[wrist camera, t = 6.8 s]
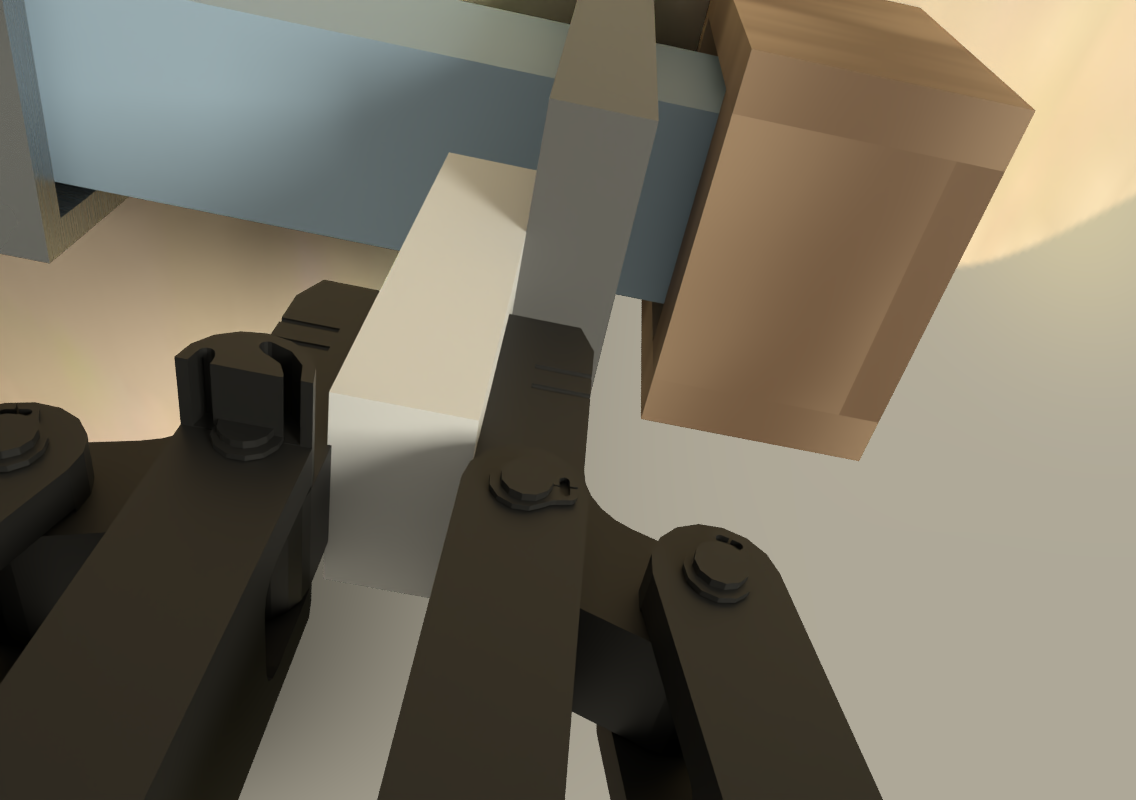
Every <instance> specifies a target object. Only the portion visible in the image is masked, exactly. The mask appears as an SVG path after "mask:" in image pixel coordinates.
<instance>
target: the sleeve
mask: <svg viewBox="0 0 1136 800" xmlns="http://www.w3.org/2000/svg"><path fill="white" fill-rule="evenodd" d="M128 197H129V196H124V195H119V194H114V193H109V192H104V191H99V190H94V189H89V188H84V187H79V186H74V185H69V184H64V183H59V182H55V181H54V175H53V169H52V163H51V157H50V151H49V145H48V139H47V133H46V127H45V121H44V115H43V109H42V104H41V98H40V92H39V86H38V80H37V74H36V68H35V62H34V56H33V50H32V44H31V38H30V32H29V26H28V20H27V14H26V8H25V2H24V0H0V254H5V255H10V256H15V257H20V258H25V259H30V260H35V261H40V262H45V263H51V262H52V261H53V260H54V259H56V258H57V257H58V256H59V255H60V254H62V253H63V252H64V251H65V250H66V249H67V248H69V247H70V246H71V245H72V244H73V243H75V242H76V241H77V240H78V239H79V238H81V237H82V236H83V235H84V234H85V233H86V232H88V231H89V230H90V229H91V228H92V227H94V226H95V225H96V224H97V223H98V222H100V221H101V220H102V219H103V218H104V217H105V216H107V215H108V214H109V213H110V212H111V211H113V210H114V209H115V208H116V207H117V206H118V205H120V204H121V203H122V202H123V201H124V200H126V199H127V198H128Z"/></svg>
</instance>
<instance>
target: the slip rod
mask: <svg viewBox="0 0 1136 800" xmlns="http://www.w3.org/2000/svg"><path fill="white" fill-rule="evenodd" d="M24 2H25V8H26V14H27V20H28V26H29V32H30V38H31V44H32V50H33V56H34V62H35V68H36V74H37V80H38V86H39V92H40V98H41V104H42V109H43V115H44V121H45V127H46V133H47V139H48V145H49V151H50V157H51V163H52V169H53V175H54V181H55V182H59V183H64V184H69V185H74V186H79V187H84V188H89V189H94V190H99V191H104V192H109V193H114V194H119V195H124V196H129V197H134V198H139V199H144V200H149V201H154V202H159V203H164V204H169V205H174V206H179V207H184V208H189V209H194V210H199V211H204V212H208V213H213V214H218V215H223V216H228V217H233V218H238V219H243V220H248V221H253V222H258V223H263V224H268V225H273V226H278V227H283V228H288V229H293V230H298V231H303V232H308V233H313V234H318V235H323V236H328V237H333V238H338V239H343V240H348V241H353V242H358V243H363V244H368V245H373V246H378V247H383V248H388V249H393V250H398V251H400V249H401V247H402V245H403V243H404V241H405V239H406V237H407V235H408V233H409V231H410V229H411V227H412V225H413V223H414V221H415V219H416V217H417V215H418V213H419V211H420V209H421V207H422V205H423V203H424V201H425V199H426V197H427V195H428V193H429V191H430V189H431V187H432V185H433V183H434V181H435V179H436V177H437V175H438V173H439V171H440V169H441V167H442V165H443V163H444V161H445V159H446V157H447V155H448V153H449V152H450V153H455V154H459V155H464V156H469V157H474V158H479V159H484V160H488V161H493V162H498V163H503V164H508V165H513V166H517V167H522V168H527V169H532V170H537V172H536V178H535V183H534V189H533V195H532V201H531V207H530V212H529V218H528V224H527V230H526V237H525V243H524V248H523V254H522V260H521V266H520V271H519V277H518V283H517V289H516V294H515V300H514V306H513V312H512V314H513V315H518V316H523V317H528V318H533V319H538V320H543V321H548V322H553V323H558V324H563V325H568V326H574V327H579V328H581V329H582V331H583V332H584V334H585V336H586V338H587V340H588V341H589V343H590V345H591V347H592V349H593V350H594V359H593V371H592V378H591V380H592V383H591V389H592V386H593V382H594V378H595V374H596V369H597V366H598V362H599V358H600V354H601V350H602V346H603V342H604V338H605V333H606V330H607V326H608V322H609V318H610V313H611V310H612V306H613V302H614V298H615V294H617V295H622V296H628V297H632V298H637V299H642V300H647V301H652V302H657V303H662V304H664V302H665V298H666V295H667V292H668V288H669V285H670V281H671V278H672V274H673V271H674V267H675V264H676V261H677V257H678V254H679V250H680V247H681V243H682V240H683V236H684V233H685V230H686V226H687V223H688V219H689V216H690V212H691V209H692V205H693V202H694V199H695V195H696V192H697V188H698V185H699V181H700V178H701V174H702V171H703V167H704V164H705V161H706V157H707V154H708V150H709V147H710V143H711V140H712V136H713V133H714V130H715V126H716V123H717V119H718V116H719V112H720V109H721V105H722V102H723V99H724V95H725V92H726V86H725V82H724V78H723V74H722V70H721V66H720V62H719V58H718V56H714V55H710V54H705V53H700V52H696V51H691V50H687V49H682V48H677V47H673V46H668V45H663V44H659V43H656V37H655V12H654V0H577V2H576V6H575V9H574V13H573V16H572V20H571V23H570V24H566V23H562V22H557V21H552V20H548V19H543V18H539V17H534V16H529V15H525V14H520V13H515V12H511V11H506V10H502V9H497V8H492V7H488V6H483V5H478V4H474V3H469V2H465V1H460V0H24Z"/></svg>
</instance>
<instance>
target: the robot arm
mask: <svg viewBox="0 0 1136 800" xmlns="http://www.w3.org/2000/svg"><path fill="white" fill-rule="evenodd" d="M536 172H537V170H532V169H527V168H522V167H517V166H513V165H508V164H503V163H498V162H493V161H488V160H484V159H479V158H474V157H469V156H464V155H459V154H455V153H450V152H449V153H448V155H447V157H446V159H445V161H444V163H443V165H442V167H441V169H440V171H439V173H438V175H437V177H436V179H435V181H434V183H433V185H432V187H431V189H430V191H429V193H428V195H427V197H426V199H425V201H424V203H423V205H422V207H421V209H420V211H419V213H418V215H417V217H416V219H415V221H414V223H413V225H412V227H411V229H410V231H409V233H408V235H407V237H406V239H405V241H404V243H403V245H402V247H401V249H400V251H399V253H398V255H397V257H396V259H395V261H394V263H393V265H392V267H391V269H390V271H389V273H388V275H387V277H386V279H385V281H384V283H383V285H382V287H381V289H380V291H378V290H373V289H368V288H363V287H358V286H353V285H348V284H343V283H338V282H333V281H328V280H323V281H321V282H319V283H317V284H316V285H314V286H312V287H310V288H309V289H307V290H305V291H303V292H302V293H300V294H298V295H296V297H295V298H294V300H293V301H292V303H291V304H290V306H289V307H288V309H287V311H286V312H285V314H284V315H283V317H282V321H281V322H279V323H278V324H277V326H276V327H275V329H274V330H273V332H272V334H266V333H253V332H233V333H225V334H217V335H213V336H210V337H207V338H205V339H202V340H199V341H197V342H194V343H191V344H190V345H189V346H187V347H186V348H185V349H184V350H182V351H181V352H180V353H179V354H177V355H176V356H175V367H176V377H177V388H178V399H179V409H180V420H181V425H180V426H179V428H178V429H177V430H176V432H175V433H174V435H173V436H170V437H166V438H162V439H152V440H142V441H117V442H88V437H87V433H86V431H85V429H84V427H83V426H82V424H81V422H80V420H79V419H78V418H76V417H75V416H73V415H72V414H70V413H68V412H67V411H65V410H63V409H62V408H59V407H54V406H49V405H45V404H40V403H35V402H32V403H3V404H0V800H238V799H239V796H240V793H241V791H242V788H243V786H244V783H245V780H246V778H247V775H248V773H249V770H250V768H251V765H252V762H253V760H254V757H255V755H256V752H257V750H258V747H259V745H260V742H261V739H262V737H263V734H264V732H265V729H266V727H267V724H268V721H269V719H270V716H271V713H272V711H273V709H274V706H275V703H276V701H277V698H278V696H279V693H280V691H281V688H282V685H283V683H284V680H285V678H286V675H287V672H288V670H289V667H290V665H291V662H292V660H293V657H294V654H295V652H296V649H297V647H298V644H299V642H300V639H301V637H302V634H303V631H304V629H305V626H306V624H307V621H308V619H309V613H310V606H311V586H312V580H313V577H314V575H315V572H316V570H317V568H318V565H319V563H320V560H321V558H322V555H323V553H324V567H323V579H327V580H332V581H338V582H343V583H349V584H355V585H360V586H366V587H371V588H376V589H382V590H388V591H394V592H399V593H404V594H410V595H415V596H421V597H427V598H430V599H429V603H428V607H427V611H426V614H425V618H424V622H423V626H422V630H421V634H420V637H419V641H418V645H417V649H416V653H415V657H414V661H413V665H412V668H411V672H410V676H409V680H408V684H407V688H406V691H405V695H404V699H403V703H402V707H401V711H400V715H399V718H398V722H397V726H396V730H395V734H394V738H393V741H392V745H391V749H390V753H389V757H388V761H387V764H386V768H385V772H384V776H383V780H382V784H381V788H380V791H379V796H378V799H377V800H565V789H566V777H567V764H568V751H569V739H570V727H571V713H572V712H574V713H576V714H578V715H580V716H582V717H584V718H586V719H588V720H590V721H592V722H594V723H596V724H597V737H598V741H599V746H600V751H601V755H602V761H603V765H604V769H605V775H606V780H607V785H608V790H609V794H610V799H611V800H883V799H882V797H881V794H880V793H879V790H878V788H877V786H876V784H875V781H874V779H873V777H872V775H871V772H870V771H869V768H868V766H867V764H866V762H865V759H864V757H863V755H862V753H861V751H860V749H859V746H858V744H857V742H856V740H855V737H854V735H853V733H852V731H851V729H850V726H849V724H848V722H847V720H846V718H845V716H844V713H843V711H842V709H841V707H840V705H839V702H838V700H837V698H836V696H835V693H834V691H833V689H832V687H831V685H830V683H829V680H828V678H827V676H826V674H825V672H824V669H823V667H822V665H821V664H820V661H819V658H818V656H817V654H816V652H815V650H814V648H813V645H812V643H811V641H810V639H809V637H808V634H807V632H806V630H805V628H804V625H803V623H802V621H801V619H800V617H799V615H798V612H797V610H796V608H795V606H794V604H793V601H792V599H791V597H790V595H789V593H788V590H787V588H786V586H785V584H784V582H783V579H782V577H781V575H780V573H779V572H778V570H777V569H776V568H775V566H774V564H773V563H772V562H771V560H770V559H769V557H768V556H767V554H766V553H764V552H763V551H762V550H760V549H759V548H758V547H757V546H755V545H754V544H753V543H752V542H750V541H749V540H748V539H746V538H744V537H742V536H740V535H737V534H735V533H733V532H730V531H728V530H726V529H724V528H719V527H713V526H707V525H700V524H697V525H690V526H683V527H677V528H675V529H673V530H672V531H670V532H669V533H667V534H665V535H664V536H662V537H661V538H660V539H659V541H657V540H655V539H652V538H650V537H648V536H645V535H643V534H641V533H639V532H637V531H634V530H632V529H630V528H628V527H627V526H625V525H623V524H621V523H620V522H618V521H616V520H614V519H613V518H612V517H611V516H610V515H608V514H607V513H606V512H605V511H604V510H602V509H601V508H600V506H599V505H598V504H597V503H596V501H595V500H594V499H593V498H592V496H591V495H590V492H589V490H588V488H587V486H586V483H585V475H584V464H585V453H586V441H587V430H588V418H589V406H590V394H591V383H592V380H591V378H592V371H593V359H594V350H593V349H592V347H591V345H590V343H589V341H588V340H587V338H586V336H585V334H584V332H583V331H582V329H581V328H579V327H574V326H568V325H563V324H558V323H553V322H548V321H543V320H538V319H533V318H528V317H523V316H518V315H513V314H512V312H513V306H514V300H515V294H516V289H517V283H518V277H519V271H520V266H521V260H522V254H523V248H524V243H525V237H526V230H527V224H528V218H529V212H530V207H531V201H532V195H533V189H534V183H535V178H536Z"/></svg>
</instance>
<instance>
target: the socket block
mask: <svg viewBox="0 0 1136 800" xmlns="http://www.w3.org/2000/svg"><path fill="white" fill-rule="evenodd" d="M697 52H700V53H705V54H710V55H714V56H718V58H719V62H720V66H721V70H722V74H723V78H724V82H725V86H726V92H725V95H724V99H723V102H722V105H721V109H720V112H719V116H718V119H717V123H716V126H715V130H714V133H713V136H712V140H711V143H710V147H709V150H708V154H707V157H706V161H705V164H704V167H703V171H702V174H701V178H700V181H699V185H698V188H697V192H696V195H695V199H694V202H693V205H692V209H691V212H690V216H689V219H688V223H687V226H686V230H685V233H684V236H683V240H682V243H681V247H680V250H679V254H678V257H677V261H676V264H675V267H674V271H673V274H672V278H671V281H670V285H669V288H668V292H667V295H666V298H665V302H664V304H662V303H657V302H652V301H647V300H642V343H641V348H642V349H641V354H642V355H641V419H645V420H649V421H654V422H659V423H665V424H670V425H675V426H680V427H686V428H691V429H696V430H701V431H707V432H712V433H716V434H722V435H727V436H732V437H738V438H742V439H748V440H753V441H758V442H763V443H768V444H773V445H779V446H784V447H789V448H794V449H799V450H805V451H810V452H815V453H820V454H825V455H830V456H835V457H841V458H846V459H851V460H856V461H859V460H860V458H861V456H862V454H863V452H864V450H865V448H866V446H867V444H868V442H869V440H870V438H871V436H872V434H873V432H874V430H875V428H876V426H877V424H878V422H879V420H880V418H881V416H882V414H883V412H884V410H885V408H886V407H887V405H888V403H889V401H890V398H891V396H892V395H893V393H894V391H895V388H896V387H897V384H898V383H899V381H900V379H901V377H902V375H903V373H904V371H905V369H906V367H907V365H908V363H909V361H910V359H911V357H912V355H913V353H914V351H915V349H916V347H917V345H918V343H919V341H920V339H921V337H922V335H923V333H924V331H925V329H926V327H927V325H928V323H929V321H930V319H931V317H932V315H933V313H934V311H935V309H936V307H937V305H938V303H939V301H940V299H941V297H942V295H943V293H944V291H945V289H946V287H947V285H948V283H949V281H950V279H951V277H952V275H953V273H954V271H955V269H956V268H957V266H958V264H959V262H960V260H961V258H962V256H963V254H964V252H965V250H966V248H967V246H968V244H969V242H970V240H971V238H972V236H973V234H974V232H975V230H976V228H977V226H978V224H979V222H980V220H981V218H982V216H983V214H984V212H985V210H986V208H987V206H988V204H989V202H990V200H991V198H992V196H993V194H994V192H995V190H996V188H997V186H998V184H999V182H1000V180H1001V178H1002V176H1003V174H1004V172H1005V170H1006V168H1007V166H1008V164H1009V162H1010V160H1011V158H1012V156H1013V154H1014V152H1015V150H1016V148H1017V146H1018V144H1019V142H1020V140H1021V138H1022V136H1023V134H1024V132H1025V130H1026V128H1027V127H1028V125H1029V123H1030V121H1031V119H1032V117H1033V115H1034V113H1035V110H1034V109H1033V108H1032V107H1031V106H1030V105H1029V104H1028V103H1026V102H1025V101H1024V100H1023V99H1022V98H1021V97H1020V96H1019V95H1017V94H1016V93H1015V92H1014V91H1013V90H1012V89H1011V88H1010V87H1009V86H1007V85H1006V84H1005V83H1004V82H1003V81H1002V80H1001V79H1000V78H998V77H997V76H996V75H995V74H994V73H993V72H992V71H991V70H989V69H988V68H987V67H986V66H985V65H984V64H983V63H982V62H980V61H979V60H978V59H977V58H976V57H975V56H974V55H973V54H972V53H970V52H969V51H968V50H967V49H966V48H965V47H964V46H963V45H961V44H960V43H959V42H958V41H957V40H956V39H955V38H954V37H952V36H951V35H950V34H949V33H948V32H947V31H946V30H945V29H944V28H942V27H941V26H940V25H939V24H938V23H937V22H936V21H935V20H933V19H932V18H931V17H930V16H929V15H928V14H927V13H926V12H924V11H923V10H922V9H921V8H918V7H914V6H909V5H905V4H900V3H896V2H891V1H887V0H710V3H709V7H708V11H707V14H706V18H705V22H704V26H703V29H702V33H701V37H700V41H699V45H698V48H697Z"/></svg>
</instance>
